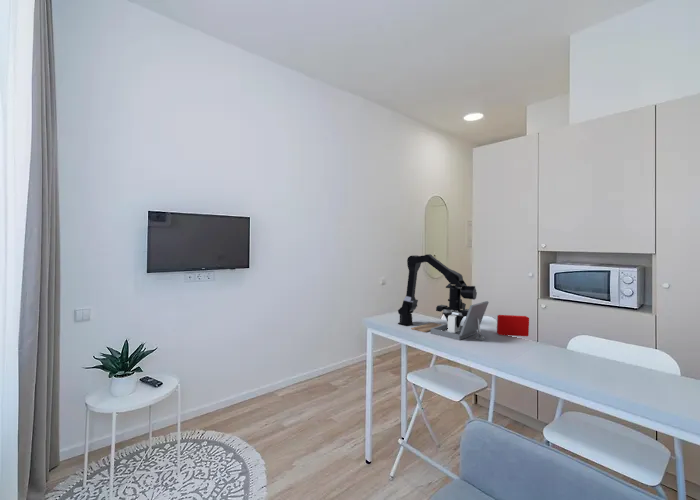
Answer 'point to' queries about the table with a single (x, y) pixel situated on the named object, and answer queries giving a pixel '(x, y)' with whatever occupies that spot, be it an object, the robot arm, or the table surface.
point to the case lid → (473, 317)
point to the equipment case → (452, 335)
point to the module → (452, 323)
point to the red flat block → (512, 325)
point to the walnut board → (426, 327)
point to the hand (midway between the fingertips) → (453, 326)
